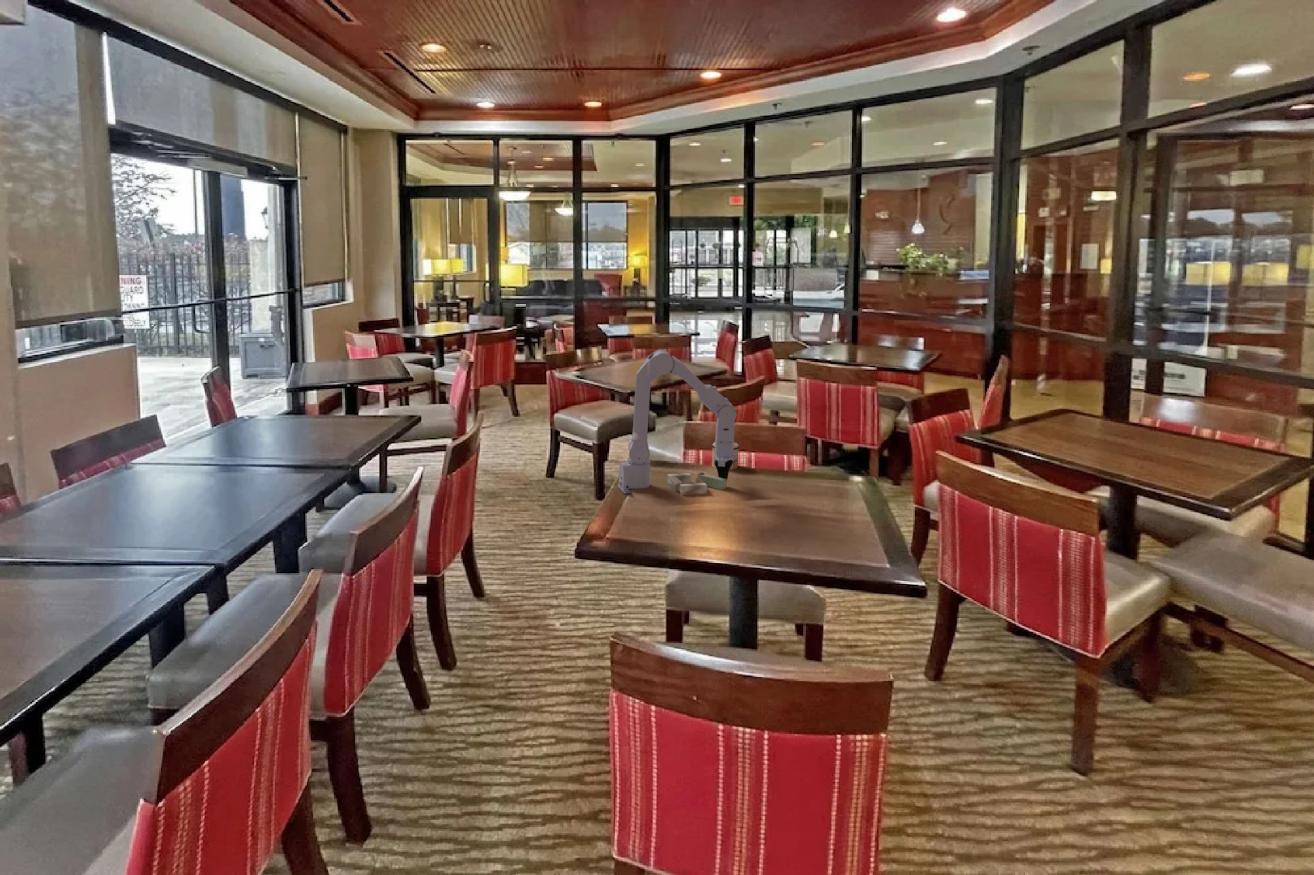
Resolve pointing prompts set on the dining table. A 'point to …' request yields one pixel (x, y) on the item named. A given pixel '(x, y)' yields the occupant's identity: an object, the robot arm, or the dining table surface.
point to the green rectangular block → (713, 481)
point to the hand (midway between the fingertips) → (722, 483)
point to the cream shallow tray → (680, 484)
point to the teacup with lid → (735, 460)
